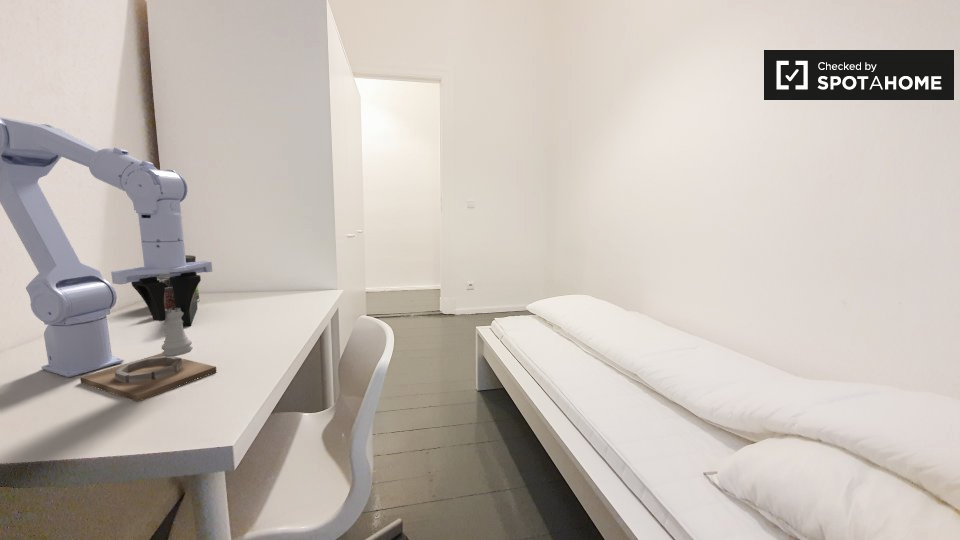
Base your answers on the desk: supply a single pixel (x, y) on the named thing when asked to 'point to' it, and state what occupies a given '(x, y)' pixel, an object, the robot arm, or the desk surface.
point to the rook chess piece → (175, 334)
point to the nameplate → (190, 312)
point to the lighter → (168, 294)
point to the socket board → (147, 376)
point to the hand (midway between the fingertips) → (171, 317)
